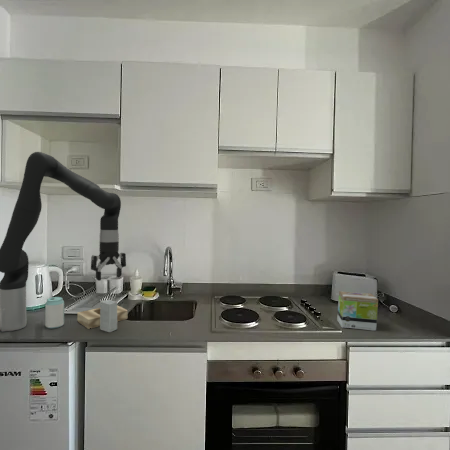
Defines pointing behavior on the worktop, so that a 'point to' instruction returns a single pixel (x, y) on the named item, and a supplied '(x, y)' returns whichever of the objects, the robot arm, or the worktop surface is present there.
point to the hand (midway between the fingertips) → (108, 278)
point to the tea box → (357, 310)
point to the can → (54, 312)
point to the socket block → (98, 317)
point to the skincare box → (108, 315)
